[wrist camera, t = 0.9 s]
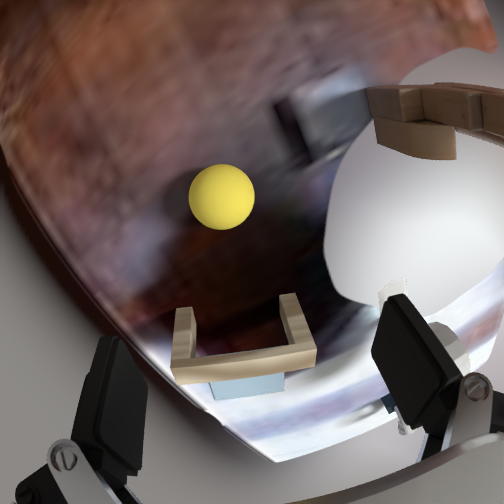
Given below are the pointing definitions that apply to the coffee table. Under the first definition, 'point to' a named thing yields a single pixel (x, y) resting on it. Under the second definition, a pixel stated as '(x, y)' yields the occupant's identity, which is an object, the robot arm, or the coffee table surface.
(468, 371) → the heart sculpture
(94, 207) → the coffee table surface
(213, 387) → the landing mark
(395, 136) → the wooden toy
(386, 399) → the watch
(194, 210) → the ball
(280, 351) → the bridge
